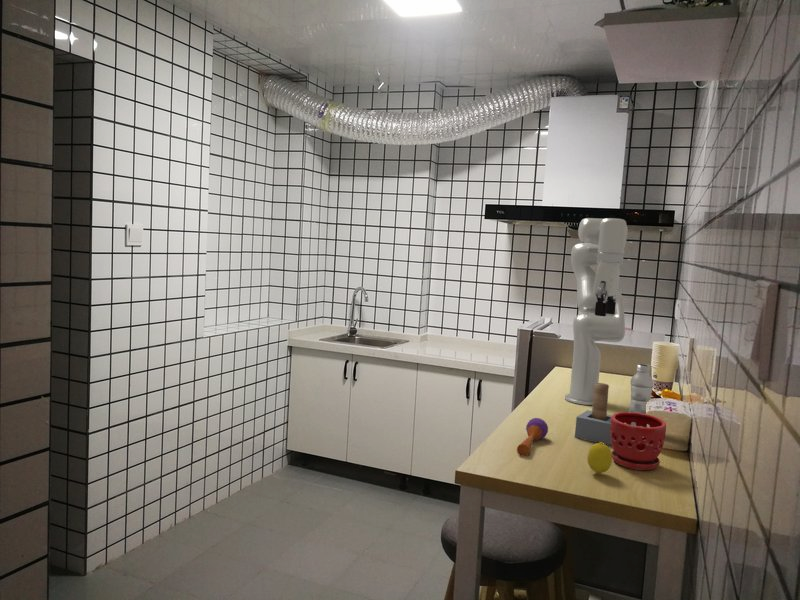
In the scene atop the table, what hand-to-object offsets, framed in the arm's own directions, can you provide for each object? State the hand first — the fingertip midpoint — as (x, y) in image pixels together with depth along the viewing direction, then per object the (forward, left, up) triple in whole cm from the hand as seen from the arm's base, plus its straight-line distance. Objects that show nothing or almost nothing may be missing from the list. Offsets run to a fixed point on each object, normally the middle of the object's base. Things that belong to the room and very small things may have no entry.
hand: (604, 314), depth 187 cm
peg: (+14, +5, -33) cm, 36 cm away
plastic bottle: (-4, +12, -34) cm, 37 cm away
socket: (+14, +5, -34) cm, 37 cm away
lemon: (+44, +14, -34) cm, 58 cm away
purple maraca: (+35, -7, -35) cm, 50 cm away
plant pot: (+30, +19, -34) cm, 50 cm away
